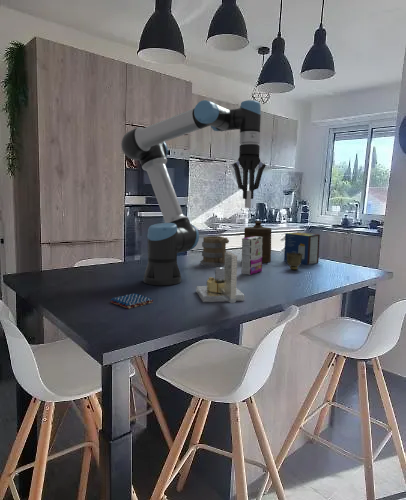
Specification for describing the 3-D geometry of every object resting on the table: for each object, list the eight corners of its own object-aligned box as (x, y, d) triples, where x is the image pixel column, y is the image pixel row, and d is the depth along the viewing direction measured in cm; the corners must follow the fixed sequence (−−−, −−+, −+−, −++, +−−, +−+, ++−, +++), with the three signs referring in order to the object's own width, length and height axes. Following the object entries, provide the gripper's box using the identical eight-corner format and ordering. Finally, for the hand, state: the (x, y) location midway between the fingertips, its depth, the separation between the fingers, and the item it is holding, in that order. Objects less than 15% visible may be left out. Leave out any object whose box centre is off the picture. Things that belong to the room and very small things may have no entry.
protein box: (295, 259, 211) (296, 232, 209) (318, 263, 200) (320, 234, 197) (283, 261, 205) (284, 233, 202) (307, 265, 193) (308, 235, 191)
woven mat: (155, 304, 121) (155, 298, 121) (128, 311, 113) (128, 304, 113) (135, 297, 128) (135, 292, 128) (108, 304, 120) (108, 297, 120)
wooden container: (252, 257, 214) (253, 219, 211) (275, 260, 205) (277, 220, 202) (238, 260, 203) (239, 220, 200) (261, 264, 193) (263, 222, 190)
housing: (203, 302, 122) (203, 272, 120) (196, 291, 135) (196, 264, 134) (244, 300, 124) (245, 271, 123) (233, 290, 138) (234, 263, 137)
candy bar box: (252, 270, 177) (254, 236, 175) (262, 271, 174) (263, 236, 172) (240, 273, 168) (241, 237, 166) (250, 275, 165) (251, 238, 163)
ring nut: (205, 287, 133) (205, 246, 131) (228, 286, 134) (229, 246, 132) (219, 304, 111) (220, 256, 109) (246, 303, 113) (248, 255, 111)
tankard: (197, 262, 195) (197, 234, 193) (218, 261, 200) (219, 233, 198) (214, 269, 177) (215, 238, 175) (237, 268, 182) (238, 237, 180)
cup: (303, 271, 176) (304, 254, 175) (287, 270, 177) (288, 254, 175) (299, 268, 184) (300, 252, 183) (284, 267, 184) (285, 252, 183)
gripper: (235, 142, 135) (233, 207, 138) (269, 144, 137) (267, 208, 140) (230, 145, 142) (228, 207, 145) (262, 146, 144) (260, 207, 148)
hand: (247, 207), depth 143 cm, fingers closed
